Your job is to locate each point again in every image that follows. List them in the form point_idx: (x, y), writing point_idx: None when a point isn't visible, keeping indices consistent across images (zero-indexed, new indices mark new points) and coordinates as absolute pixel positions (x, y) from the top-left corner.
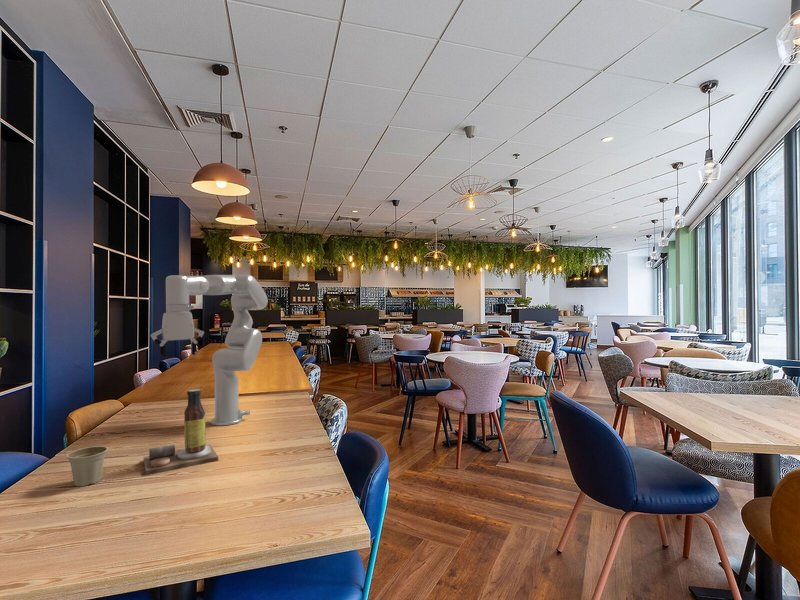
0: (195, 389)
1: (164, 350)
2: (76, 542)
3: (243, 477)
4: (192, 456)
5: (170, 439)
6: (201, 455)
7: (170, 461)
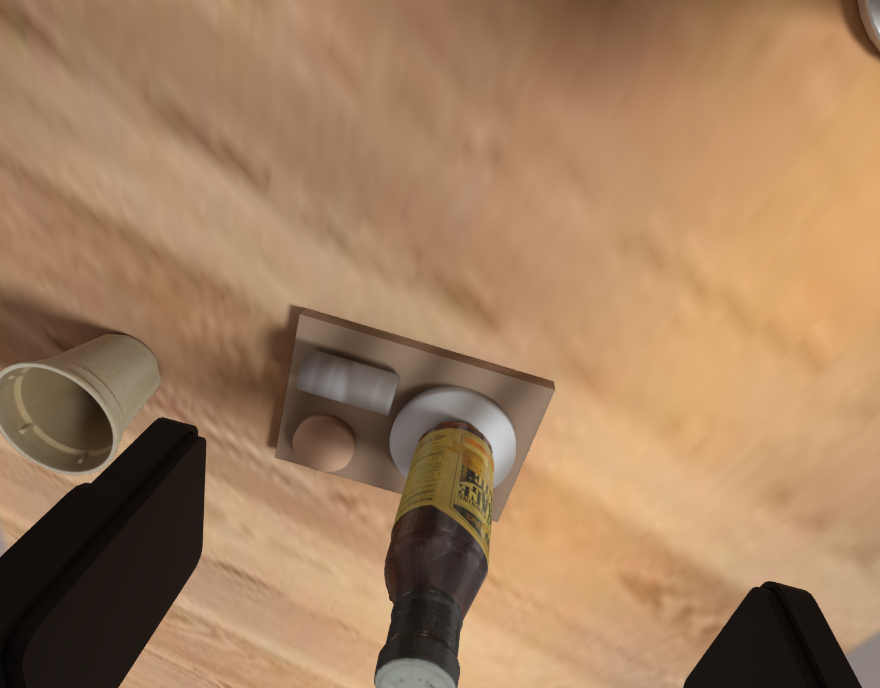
0: (432, 678)
1: (102, 685)
2: None
3: (474, 649)
4: None
5: (501, 76)
6: None
7: (360, 440)
